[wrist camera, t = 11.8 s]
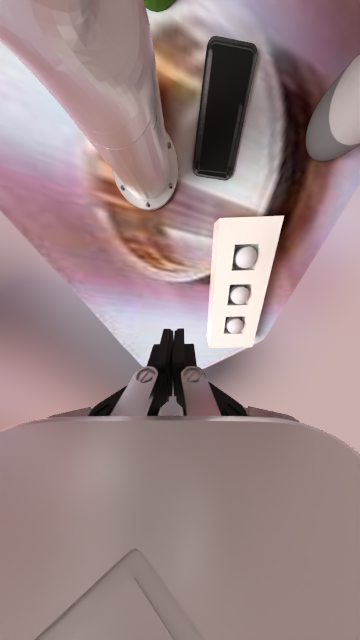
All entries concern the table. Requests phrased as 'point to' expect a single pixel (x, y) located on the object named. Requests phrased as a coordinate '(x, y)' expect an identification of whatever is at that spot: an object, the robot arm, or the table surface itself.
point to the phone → (223, 105)
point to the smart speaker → (337, 117)
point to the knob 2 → (244, 257)
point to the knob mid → (238, 294)
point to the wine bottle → (157, 4)
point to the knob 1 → (233, 324)
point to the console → (240, 276)
